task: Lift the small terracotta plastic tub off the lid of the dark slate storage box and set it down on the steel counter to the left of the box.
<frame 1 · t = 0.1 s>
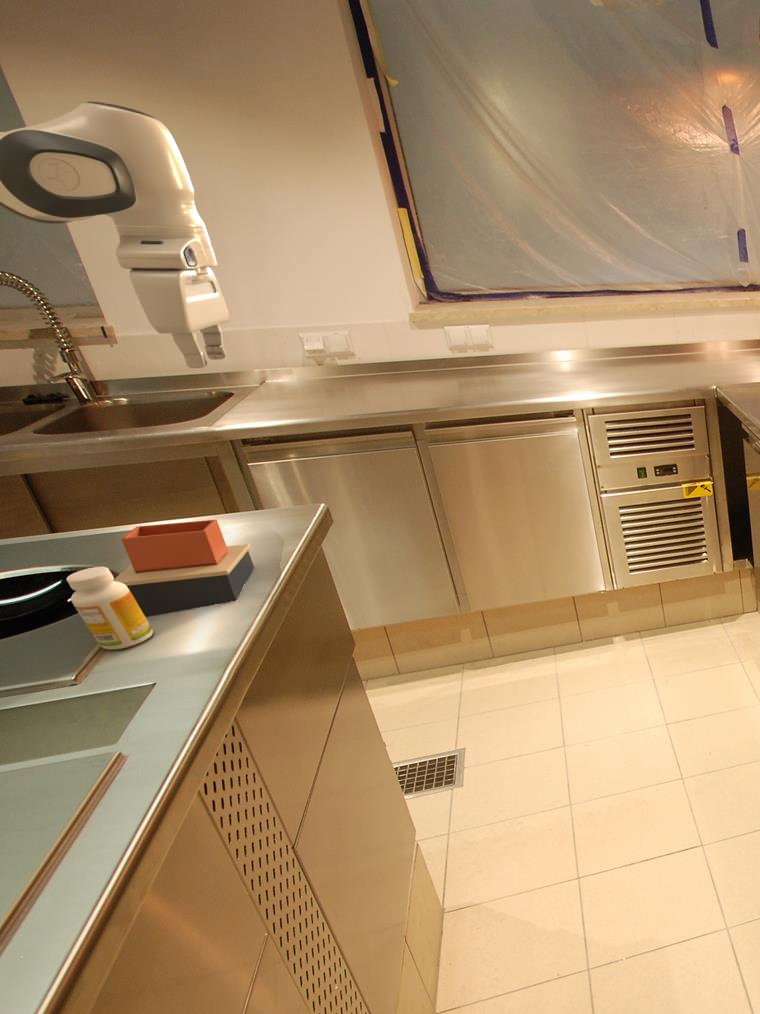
hand: (208, 363, 115), 33 cm above the worktop, tool pointing down, fingers open, 8 cm apart
supplement bottle: (128, 641, 110), on the worktop
slate storage box: (199, 601, 122), on the worktop, touching terracotta tub
terracotta tub: (183, 562, 119), point 6 cm above the worktop, touching slate storage box
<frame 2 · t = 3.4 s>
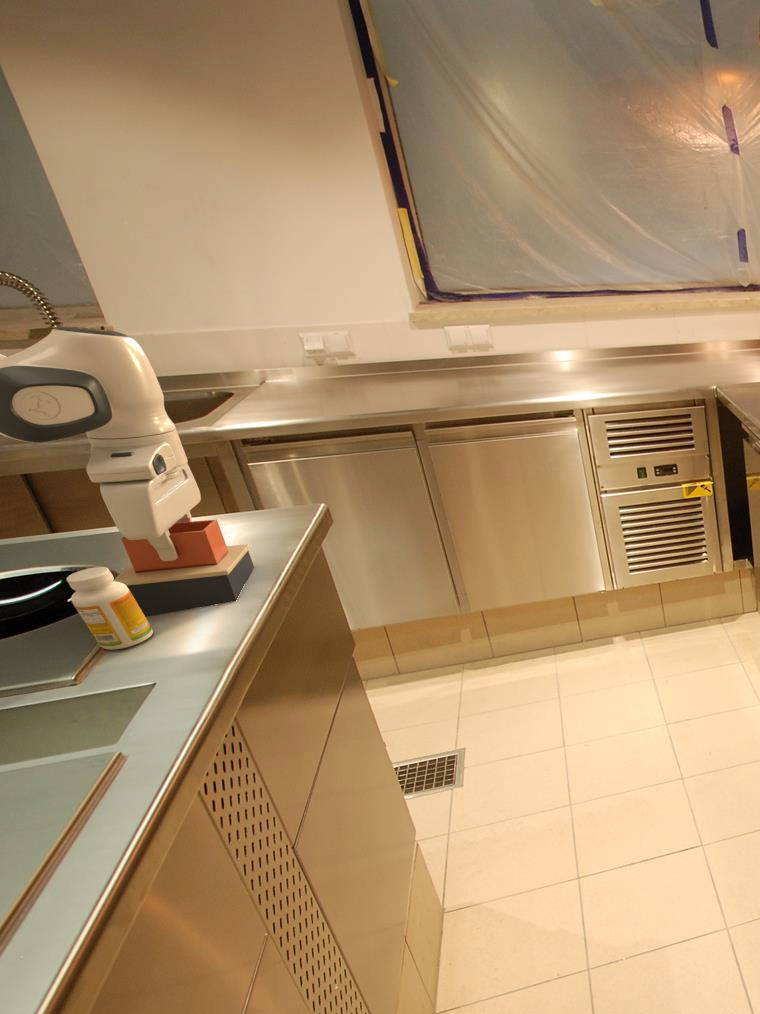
hand: (179, 551, 119), 8 cm above the worktop, tool pointing down, fingers closed on terracotta tub, 6 cm apart
terracotta tub: (183, 562, 119), point 6 cm above the worktop, touching gripper, slate storage box
everything else where it was.
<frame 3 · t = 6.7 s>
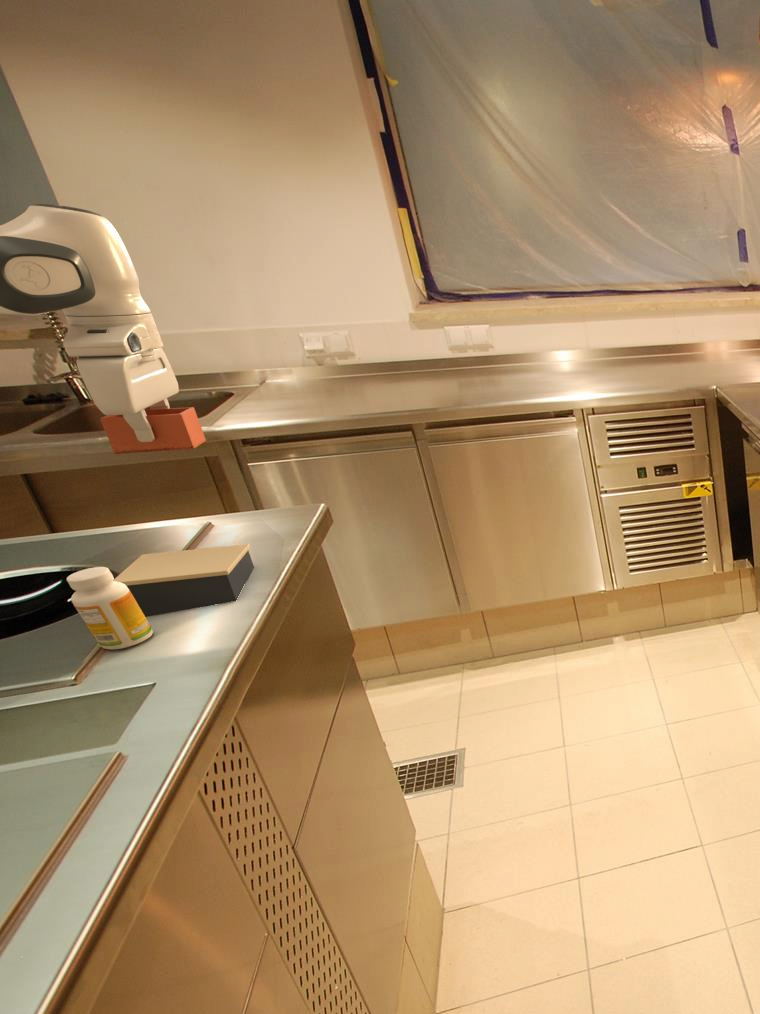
hand: (157, 435, 123), 22 cm above the worktop, tool pointing down, fingers closed on terracotta tub, 6 cm apart
slate storage box: (199, 601, 122), on the worktop
terracotta tub: (161, 447, 123), point 20 cm above the worktop, touching gripper
everything else where it was.
when the fingers open (2 cm above the worktop, at t = 10.0 s): terracotta tub stays where it is, on the worktop.
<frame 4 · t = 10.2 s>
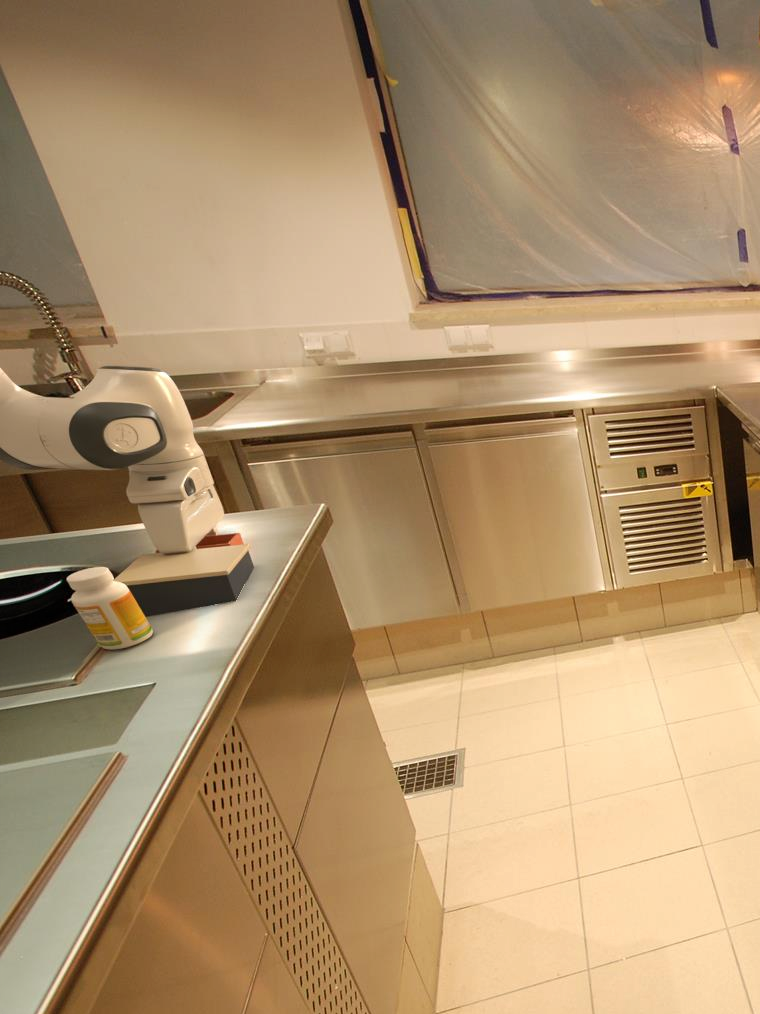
hand: (206, 563, 132), 1 cm above the worktop, tool pointing down, fingers open, 7 cm apart
terracotta tub: (210, 571, 133), on the worktop
everything else where it was.
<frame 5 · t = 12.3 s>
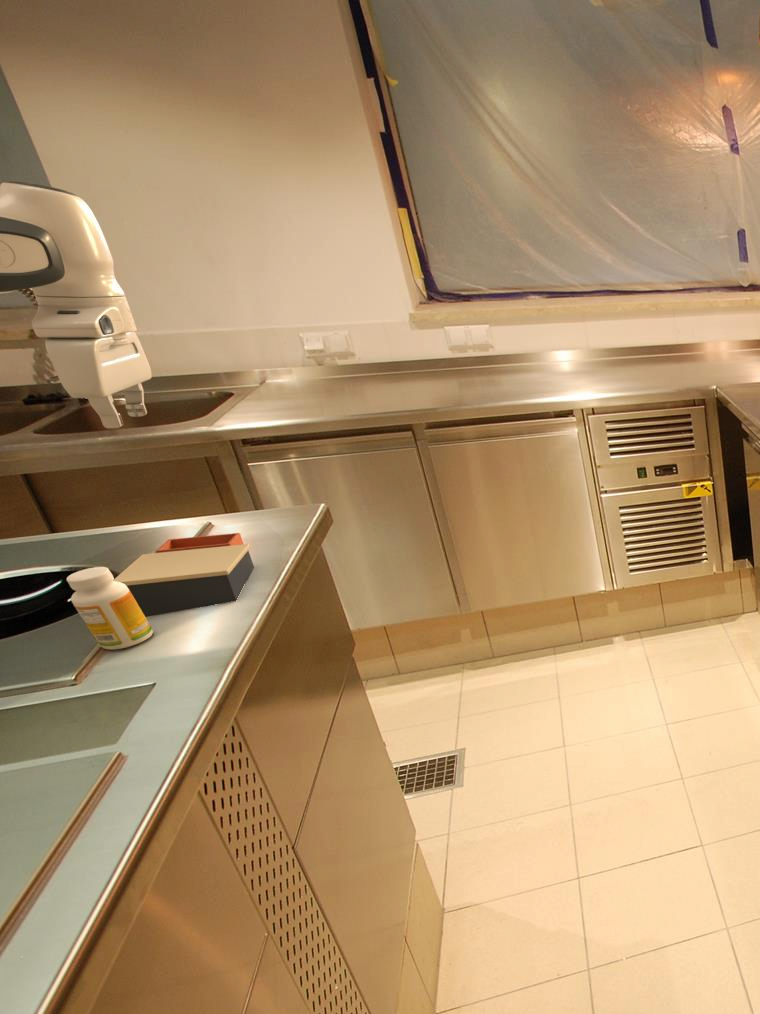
hand: (127, 421, 120), 24 cm above the worktop, tool pointing down, fingers open, 8 cm apart
nothing on the worktop moved.
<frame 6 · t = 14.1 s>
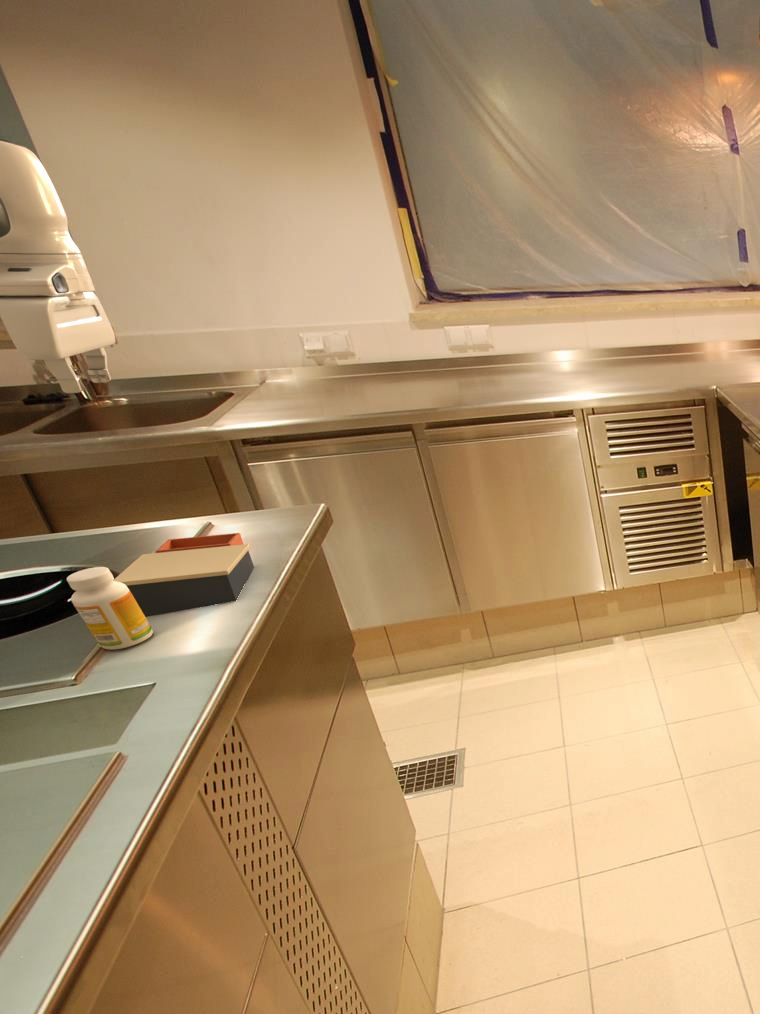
hand: (88, 387, 115), 29 cm above the worktop, tool pointing down, fingers open, 8 cm apart
nothing on the worktop moved.
at the end: terracotta tub inside the target area (0.2 cm from its centre), on the worktop; terracotta tub touching worktop; slate storage box moved 0.0 cm from its start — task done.
